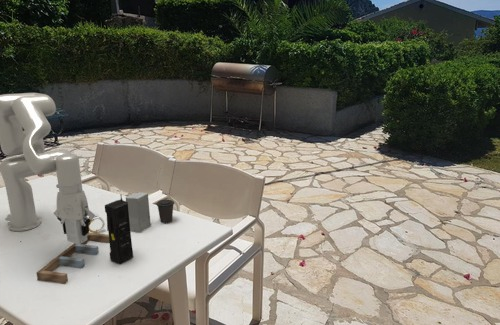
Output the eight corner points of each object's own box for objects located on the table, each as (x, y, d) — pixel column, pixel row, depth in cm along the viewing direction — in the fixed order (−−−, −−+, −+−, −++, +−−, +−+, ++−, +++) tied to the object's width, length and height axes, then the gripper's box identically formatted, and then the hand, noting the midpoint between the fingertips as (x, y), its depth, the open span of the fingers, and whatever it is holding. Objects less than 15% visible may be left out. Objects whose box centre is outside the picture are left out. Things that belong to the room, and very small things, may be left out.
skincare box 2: (140, 233, 161) (138, 199, 157) (127, 230, 164) (124, 197, 159) (151, 225, 169) (149, 192, 165) (138, 222, 171) (136, 190, 167)
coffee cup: (156, 218, 175) (154, 199, 173) (173, 216, 179) (172, 196, 176) (159, 226, 168) (157, 205, 166) (176, 223, 171) (175, 203, 169)
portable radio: (118, 266, 136) (111, 203, 129) (107, 261, 139) (100, 199, 132) (134, 256, 143) (129, 196, 136) (124, 252, 146) (118, 193, 139)
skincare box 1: (88, 240, 139) (84, 210, 136) (78, 245, 135) (74, 214, 132) (76, 236, 141) (72, 207, 138) (66, 241, 138) (62, 211, 134)
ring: (88, 235, 158) (86, 218, 156) (87, 232, 161) (85, 215, 159) (105, 232, 162) (104, 215, 159) (104, 229, 164) (102, 212, 162)
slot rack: (37, 280, 127) (36, 272, 126) (88, 238, 156) (87, 232, 155) (65, 283, 126) (64, 275, 125) (111, 241, 154) (110, 234, 153)
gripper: (41, 190, 130) (48, 236, 135) (86, 193, 127) (92, 240, 132) (55, 183, 137) (62, 227, 142) (98, 186, 135) (103, 231, 140)
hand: (76, 233), depth 137 cm, fingers closed on skincare box 1, 6 cm apart
